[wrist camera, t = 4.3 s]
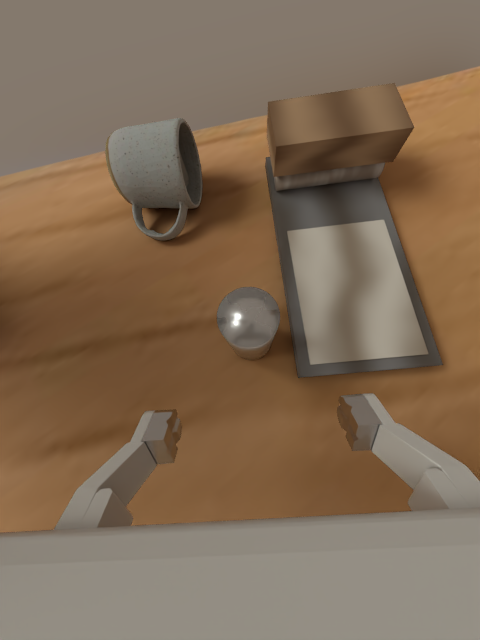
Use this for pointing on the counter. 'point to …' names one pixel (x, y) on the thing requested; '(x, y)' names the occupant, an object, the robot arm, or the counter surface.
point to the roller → (248, 321)
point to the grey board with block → (343, 233)
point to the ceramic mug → (156, 170)
